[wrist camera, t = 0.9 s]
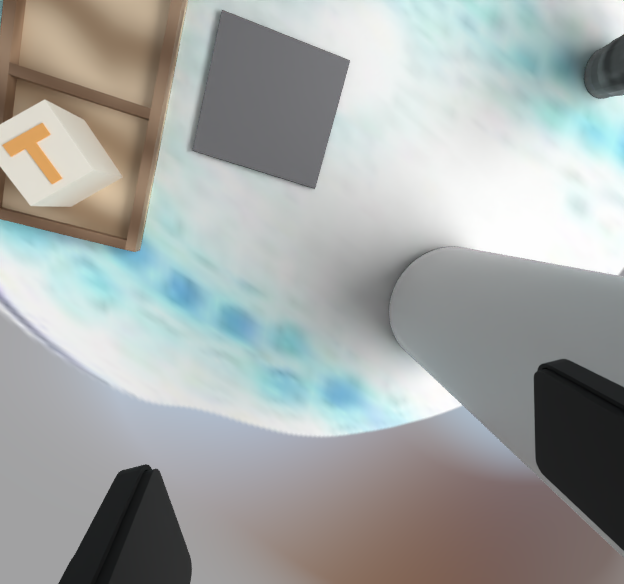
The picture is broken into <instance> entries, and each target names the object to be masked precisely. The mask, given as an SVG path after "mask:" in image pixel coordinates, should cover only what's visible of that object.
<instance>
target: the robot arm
mask: <svg viewBox="0 0 624 584" xmlns="http://www.w3.org/2000/svg"><path fill="white" fill-rule="evenodd" d="M534 420H535V459H536V464H537V466H538V468H539V470H540V471H541V473H542V474H543V475H544V476H545V477H546V478H547V479H548V480H549V481H550V482H551V483H552V484H553V485H554V486H555V487H556V488H557V489H559V490H560V491H561V492H562V493H563V494H564V495H565V496H566V497H567V498H568V499H569V500H570V501H571V502H572V503H573V504H574V505H575V506H577V507H578V508H579V509H580V510H581V511H582V512H583V513H584V514H585V515H586V516H587V517H588V518H589V519H590V520H591V521H592V522H594V523H595V524H596V525H597V526H598V527H599V528H600V529H601V530H602V531H603V532H604V533H605V534H606V535H607V536H608V537H609V538H610V539H612V540H613V541H614V542H615V543H616V544H617V545H618V546H619V547H620V548H621V549H622V550H623V551H624V387H623V386H621V385H619V384H617V383H615V382H613V381H611V380H609V379H607V378H605V377H603V376H601V375H598V374H596V373H594V372H592V371H590V370H588V369H586V368H584V367H582V366H580V365H578V364H576V363H574V362H572V361H570V360H567V359H559V360H555V361H551V362H547V363H543V364H541V365H539V367H538V370H537V372H535V374H534ZM191 572H192V567H191V558H190V555H189V552H188V549H187V546H186V544H185V541H184V538H183V535H182V532H181V530H180V527H179V524H178V521H177V518H176V515H175V513H174V510H173V507H172V504H171V501H170V499H169V496H168V493H167V490H166V487H165V485H164V482H163V479H162V476H161V474H160V471H159V470H158V469H153V470H152V469H151V467H150V466H149V465H141V466H138V467H134V468H130V469H126V470H122V471H120V472H119V473H118V474H117V476H116V478H115V479H114V481H113V483H112V485H111V487H110V489H109V491H108V493H107V495H106V497H105V498H104V500H103V502H102V504H101V506H100V508H99V510H98V512H97V514H96V516H95V517H94V519H93V521H92V523H91V525H90V527H89V529H88V531H87V533H86V535H85V536H84V538H83V540H82V542H81V544H80V546H79V548H78V550H77V552H76V553H75V555H74V557H73V558H72V560H71V561H70V563H69V565H68V567H67V569H66V571H65V572H64V574H63V576H62V578H61V580H60V582H59V584H190V581H191Z"/></svg>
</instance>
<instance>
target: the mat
mask: <svg viewBox="0 0 624 584" xmlns="http://www.w3.org/2000/svg"><path fill="white" fill-rule="evenodd" d="M349 63H350V60H347V59H345V58H342V57H340V56H337V55H335V54H332V53H330V52H327V51H325V50H322V49H320V48H317V47H315V46H312V45H310V44H307V43H304V42H302V41H299V40H297V39H294V38H292V37H289V36H287V35H284V34H282V33H279V32H277V31H274V30H272V29H269V28H267V27H264V26H262V25H259V24H257V23H254V22H252V21H249V20H247V19H244V18H241V17H239V16H236V15H234V14H231V13H229V12H226V11H224V10H222V12H221V17H220V22H219V26H218V31H217V36H216V41H215V46H214V50H213V55H212V60H211V65H210V69H209V74H208V79H207V84H206V89H205V93H204V98H203V103H202V108H201V113H200V117H199V122H198V127H197V132H196V137H195V141H194V146H193V151H196V152H199V153H202V154H205V155H208V156H212V157H215V158H218V159H221V160H225V161H228V162H231V163H234V164H237V165H241V166H244V167H247V168H250V169H254V170H257V171H260V172H263V173H266V174H270V175H273V176H276V177H279V178H282V179H286V180H289V181H292V182H295V183H299V184H302V185H305V186H308V187H311V188H315V187H316V183H317V179H318V176H319V172H320V169H321V165H322V161H323V158H324V154H325V150H326V147H327V143H328V139H329V136H330V132H331V128H332V125H333V121H334V117H335V114H336V110H337V107H338V103H339V99H340V96H341V92H342V88H343V85H344V81H345V77H346V74H347V70H348V66H349Z"/></svg>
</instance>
